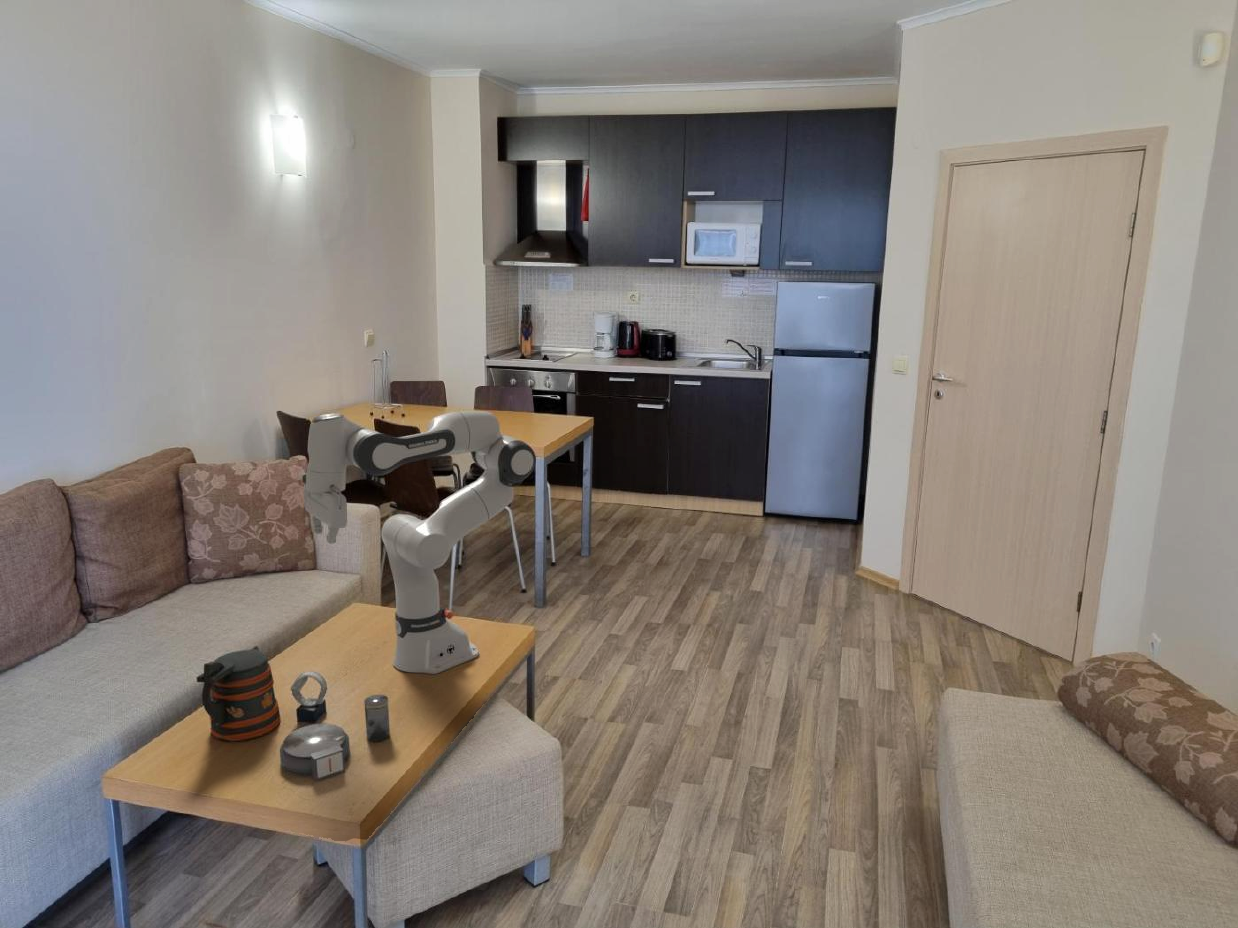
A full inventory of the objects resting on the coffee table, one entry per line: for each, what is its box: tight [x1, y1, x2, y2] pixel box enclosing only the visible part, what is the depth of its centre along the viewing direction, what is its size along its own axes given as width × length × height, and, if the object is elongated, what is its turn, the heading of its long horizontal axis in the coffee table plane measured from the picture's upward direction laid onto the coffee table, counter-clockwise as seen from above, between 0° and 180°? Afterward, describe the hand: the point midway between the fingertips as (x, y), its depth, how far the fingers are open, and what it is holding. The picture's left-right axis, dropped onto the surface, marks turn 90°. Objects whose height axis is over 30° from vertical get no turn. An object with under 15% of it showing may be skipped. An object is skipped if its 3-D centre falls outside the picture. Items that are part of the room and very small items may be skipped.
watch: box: [290, 670, 328, 724], centre depth 203 cm, size 6×8×11 cm
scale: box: [279, 732, 351, 782], centre depth 186 cm, size 14×16×5 cm
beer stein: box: [196, 645, 282, 742], centre depth 196 cm, size 19×15×20 cm
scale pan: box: [282, 723, 346, 758], centre depth 187 cm, size 13×13×1 cm
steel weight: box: [363, 694, 391, 744], centre depth 195 cm, size 5×5×9 cm
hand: (324, 537), depth 211 cm, fingers open, 8 cm apart
